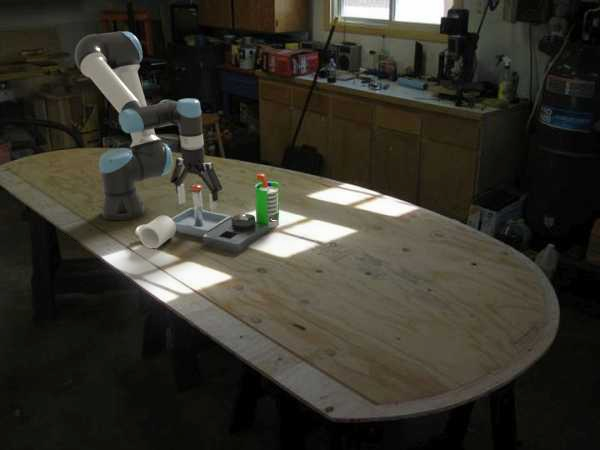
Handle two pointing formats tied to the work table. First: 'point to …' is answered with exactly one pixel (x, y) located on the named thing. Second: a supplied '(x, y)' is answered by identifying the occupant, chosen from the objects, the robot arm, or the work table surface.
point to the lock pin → (197, 204)
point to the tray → (187, 226)
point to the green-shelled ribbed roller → (267, 201)
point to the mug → (156, 231)
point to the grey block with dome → (236, 233)
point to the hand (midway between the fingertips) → (197, 206)
